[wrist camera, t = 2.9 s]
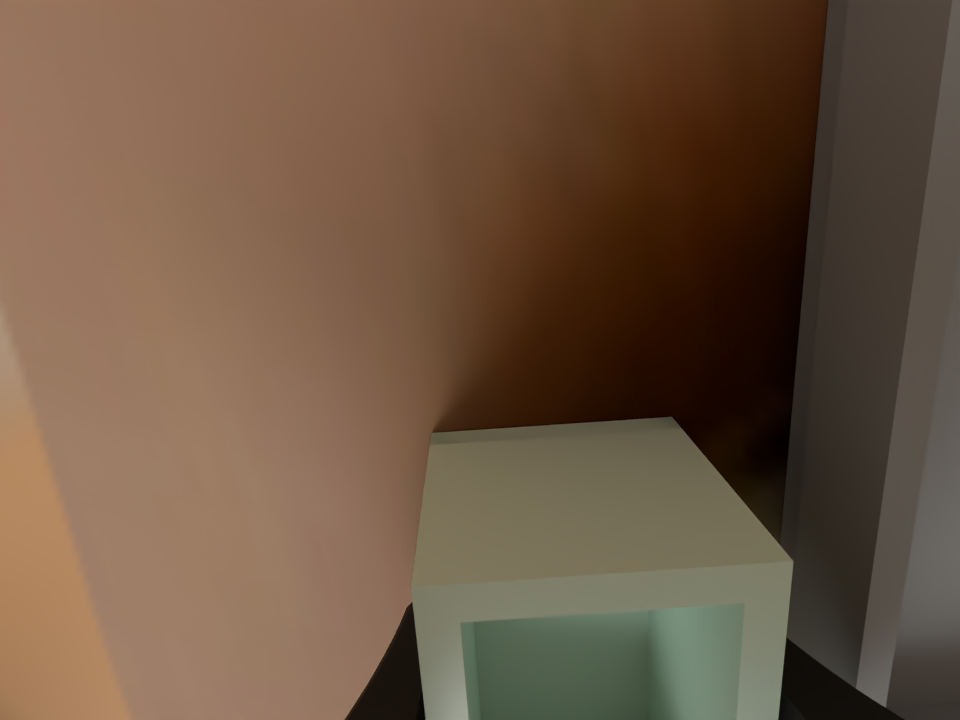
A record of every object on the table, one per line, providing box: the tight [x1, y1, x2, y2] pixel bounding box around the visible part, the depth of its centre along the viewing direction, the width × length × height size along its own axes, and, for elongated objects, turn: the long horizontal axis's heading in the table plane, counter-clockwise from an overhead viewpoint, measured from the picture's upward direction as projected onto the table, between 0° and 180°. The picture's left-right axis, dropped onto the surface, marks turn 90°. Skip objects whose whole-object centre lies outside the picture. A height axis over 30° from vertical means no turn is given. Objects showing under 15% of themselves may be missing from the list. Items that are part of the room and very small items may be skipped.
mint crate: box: [411, 417, 793, 720], centre depth 12 cm, size 8×5×5 cm, turn 4°
